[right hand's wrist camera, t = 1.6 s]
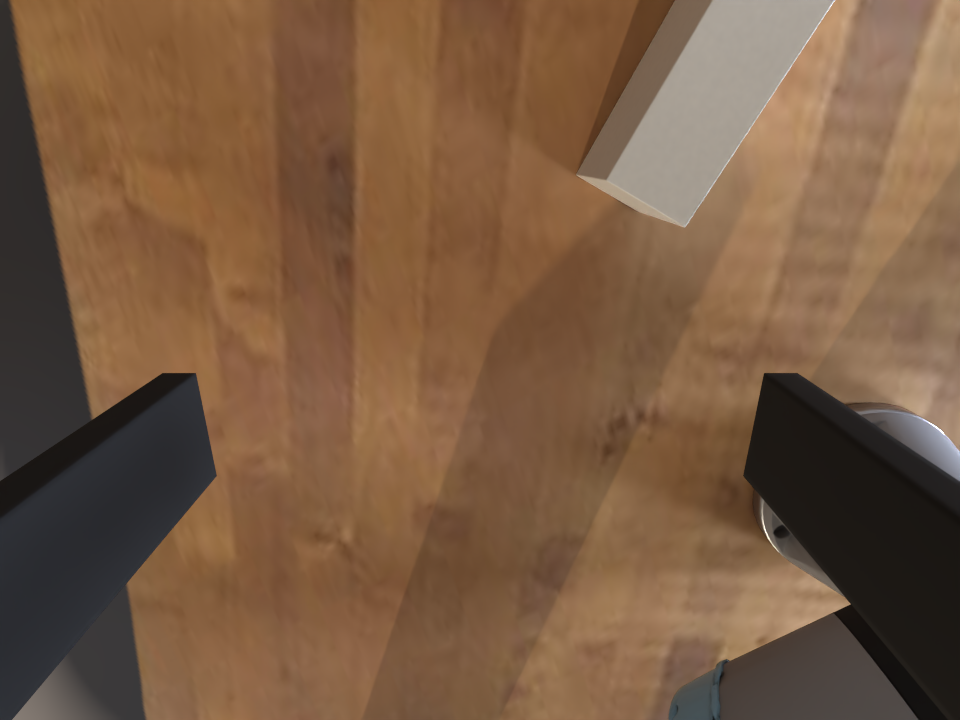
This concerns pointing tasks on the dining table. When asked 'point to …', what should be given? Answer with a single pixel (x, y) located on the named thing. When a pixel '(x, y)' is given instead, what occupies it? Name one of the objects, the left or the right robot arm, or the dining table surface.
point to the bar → (696, 100)
